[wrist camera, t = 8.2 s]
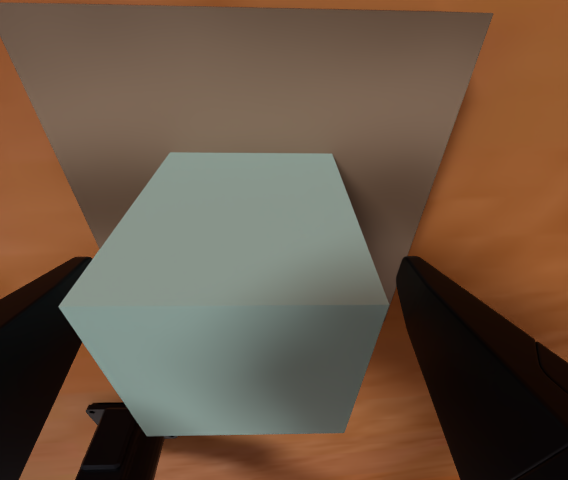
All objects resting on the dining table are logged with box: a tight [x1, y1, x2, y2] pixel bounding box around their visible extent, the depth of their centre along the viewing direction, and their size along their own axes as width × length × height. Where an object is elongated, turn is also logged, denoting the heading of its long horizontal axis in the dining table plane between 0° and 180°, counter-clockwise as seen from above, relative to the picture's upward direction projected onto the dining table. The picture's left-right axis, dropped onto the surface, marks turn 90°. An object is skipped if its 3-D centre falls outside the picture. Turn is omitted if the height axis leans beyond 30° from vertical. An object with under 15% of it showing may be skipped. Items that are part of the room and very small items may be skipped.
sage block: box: [58, 152, 389, 436], centre depth 8 cm, size 5×5×6 cm
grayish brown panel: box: [0, 3, 493, 322], centre depth 12 cm, size 12×12×3 cm
